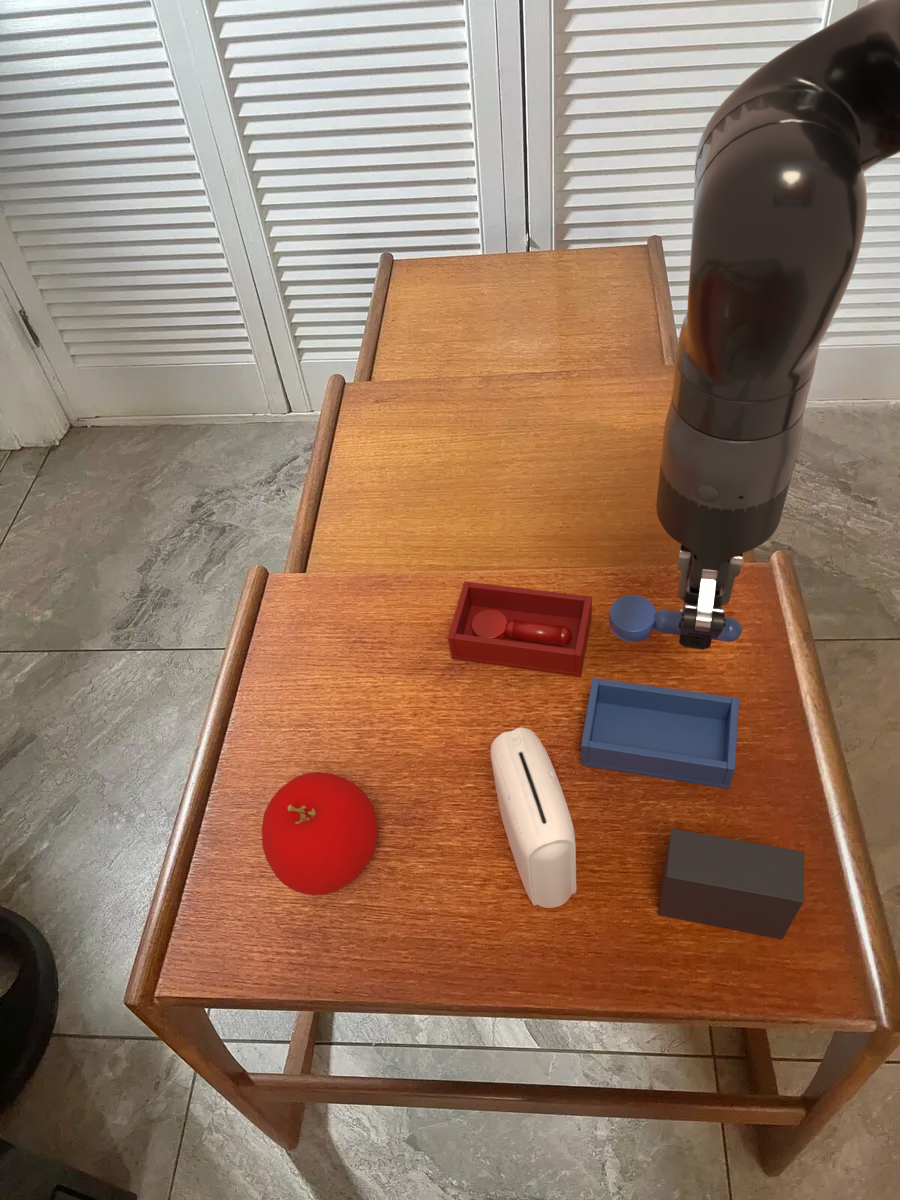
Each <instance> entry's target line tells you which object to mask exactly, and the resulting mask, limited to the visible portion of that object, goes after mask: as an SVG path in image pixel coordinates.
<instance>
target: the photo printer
mask: <svg viewBox="0 0 900 1200" xmlns="http://www.w3.org/2000/svg"><path fill="white" fill-rule="evenodd" d="M490 761H491V766H492V773H493V774H492V775H493V779H494V785H495V791H496V797H497V803H498V807H499V813H500V818H501V820H502V824H503V828H504V830H505V831H504V832H505V835H506V837H507V841H508V845H509V848H510V850H511V854H512V857H513V860H514V863H515V867H516V869H517V871H518V874H519V877H520V880H521V882H522V885H523V888H524V890H525V893H526V895H527V897H528V899H529V900H530V902H531V904H532V905H533V906H534V907H535V906H539V907H541V908H544V909H545V908H546V909H554V908H558V907H561V906H562V905H564V904H566V903H567V902H568V901H569V899H570V898H571V897H572V895H574V894H576V893H577V889H578V888H577V849H576V848H577V846H576V845H577V844H576V835H575V828H574V823H573V821H572V818H571V813H570V810H569V806H568V804H567V801H566V798H565V794H564V792H563V788H562V787H561V784H560V780H559V779H558V775H557V773H556V770H555V768H554V765H553V763H552V760H551V758H550V756H549V754H548V752H547V750H546V748H545V746H544V745H543V743H542V741H541V739H540V737H538V735H537V734H536V733H535V732H534V731H533V730H532V729H530V728H527V727H521V726H520V727H517V728H515V729H513V730H509V731H504V732H502V733H500V734H499V735H498V736H497V737H496V738H494V740H493V741H492V743H491V745H490Z"/></svg>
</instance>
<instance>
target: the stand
mask: <svg viewBox="0 0 900 1200" xmlns="http://www.w3.org/2000/svg"><path fill="white" fill-rule="evenodd" d="M662 867H663V868H662V872H661V873H662V874H661V883H660V884H661V885H660V893H659V904H658V913H657V915H658V916H660V917H666V918H670V919H675V920H681V921H686V922H691V923H697V924H701V925H707V926H712V927H715V928H716V927H717V928H722V929H726V930H733V931H737V932H741V933H747V934H754V935H758V936H763V937H768V938H772V939H778V940H783V939H784V938H785V936H786V934H787V932H788V931H789V929H790V927H791V925H792V923H793V922H794V920H795V918H796V916H797V914H798V912H799V911H800V909H801V907H802V906H803V904H804V902H805V895H804V894H805V851H802V850H797V849H792V848H791V849H790V848H786V847H779V846H774V845H769V844H762V843H757V842H750V841H745V840H739V839H734V838H728V837H723V836H716V835H711V834H706V833H699V832H693V831H688V830H682V829H676V828H670V831H669V838H668V843H667V847H666V853H665V857H664V862H663V866H662Z"/></svg>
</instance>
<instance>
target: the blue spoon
mask: <svg viewBox="0 0 900 1200" xmlns="http://www.w3.org/2000/svg"><path fill="white" fill-rule="evenodd" d="M608 615H609V616H608V619H609V620H608V625H609V629H610V631H611V632H612V634H613V635H614V636H615V637H616V638H618V639H620V640H622V641H624V642H629V643H638V642H642V641H644V640H647V638H650V637H651V635H652V634H653V633H654V631H655V630H656V632H658V633H660V634H666V635H675V636H680V629H678V627H679V622H681V614H680V610H678V609H671V608H661V609H660V608H659V609H658V610H656V607H655V606H654V604H653V603H652V602H651V601H650V600H649V599H648V598H646V597H644V596H642V595H636V594H628V595H624V596H621V597H619V598H617V599H616V600H614V602H613V603H612V604H611V606H610V608H609V614H608ZM724 619H726V626H725V627H724V626H723V631H722V633H721V634H720V635H719V637H718V638H717V639H712V640H713V641H718V642H719V641H720V642H728V643H732V642H734V641H736V640H738V639H739V638H740V637H741V635H742V631H743V627H742V624H741V622H740V621H739V620H738V619H737V618H735V617H732V616H726V615H725V618H724ZM712 640H711V641H712Z"/></svg>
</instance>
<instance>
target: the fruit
mask: <svg viewBox="0 0 900 1200" xmlns="http://www.w3.org/2000/svg"><path fill="white" fill-rule="evenodd" d="M378 829H379V827H378V818H377V813H376V810H375V808H374V805H373V804H372V801H371V800H370V799H369V797H368V796H367V794H366V793H365V792H364V791H363V790H362V789H361V788H360V787H359V786H358V785H357V784H356V783H354V782H353V781H352V780H350V779H348V778H346V777H344V776H340V775H337V774H334V773H332V772H331V773H330V772H321V771H313V772H307V773H303V774H300V775H298V776H296V777H294V778H292V779H291V780H289V781H288V782H287V783H285V784H284V785H283V786H282V787H280V788H279V789H278V790H277V791H276V793H275V794H274V795H273V796H272V798H271V799H270V800H269V802H268V804H267V806H266V808H265V810H264V812H263V817H262V823H261V845H262V846H261V847H262V850H263V854H264V857H265V859H266V861H267V863H268V865H269V867H270V869H271V870H272V872H273V873H274V875H275V877H276V878H277V879H278V880H279V881H280V882H281V883H282V884H283V885H284V886H286V887H287V888H288V889H290V890H292V891H295V892H297V893H300V894H303V895H309V896H324V895H329V894H331V893H334V892H337V891H338V890H341V889H343V888H344V887H346V886H348V885H349V884H350V883H352V882H353V881H354V880H356V879H357V878H358V877H359V876H360V874H362V872H363V871H364V869H365V868H366V866H367V865H368V864H369V862H370V861H371V859H372V857H373V856H374V853H375V850H376V846H377V840H378V835H379V834H378Z"/></svg>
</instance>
